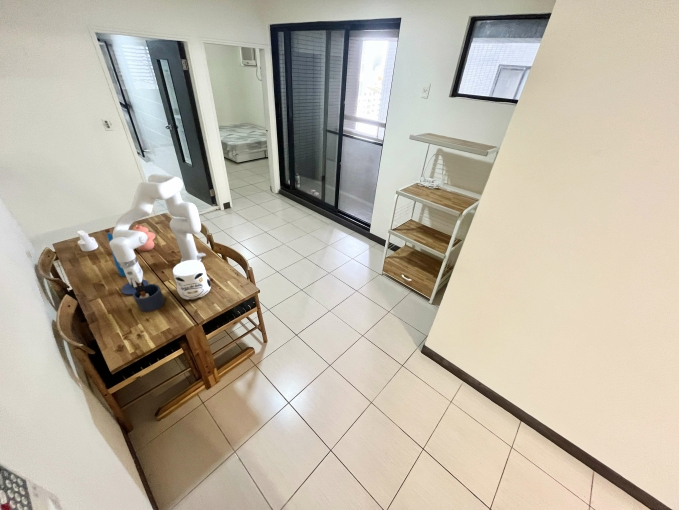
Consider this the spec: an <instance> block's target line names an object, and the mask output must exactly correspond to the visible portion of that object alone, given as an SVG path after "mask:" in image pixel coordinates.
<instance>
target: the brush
mask: <svg viewBox="0 0 679 510" xmlns="http://www.w3.org/2000/svg"><path fill="white" fill-rule="evenodd" d="M136 284H139V283H136ZM140 294H141V296H140V297H139V298H147V297H150V296H149V294H147V293H146V294H145V291H143V292H140Z"/></svg>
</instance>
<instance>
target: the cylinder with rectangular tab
mask: <svg viewBox="0 0 679 510" xmlns="http://www.w3.org/2000/svg"><path fill="white" fill-rule="evenodd" d="M76 233H77V236H78V238H79V240H77V244H78V246H79V248H80V249H81V251H82V252H91V251H94V250H96V249H98V248H99V244H98V242H97V240H96V239H95V237H94V236H90V235H89V233H87V232H86V231H84V230H82V229H81V230H78V231H76Z"/></svg>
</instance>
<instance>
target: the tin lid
mask: <svg viewBox="0 0 679 510" xmlns="http://www.w3.org/2000/svg"><path fill="white" fill-rule="evenodd" d="M142 282H143V284H144V285H148V284H149V281H147V280H146V279H143V278H142ZM135 290H136V289H135V288H134V286H133V283H132V285H131V284H130V283H129V282H127V283H125V284H124V285H123V286H122V288H121V293H122V294H124V295H127V296H133V293H134V292H135Z"/></svg>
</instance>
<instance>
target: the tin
mask: <svg viewBox="0 0 679 510" xmlns="http://www.w3.org/2000/svg"><path fill="white" fill-rule="evenodd" d="M144 286H145V288H144V291H145V294H146V293H147V294H149V296H150V297H147V298H139V297H140V296H141V294H140V292H137V291H136V290H135V292H134V293H133V295H132V297H133V299H134V301H135V303H136V305H137V307H138V309H139V310H140V311H141V312H144V313H148V312H153V311H156V310H158V309H160V308H161V307H162V306H163V305H164V304H165V301H166V300H165V297H164V293H163V292H162V289H161V287H160V285H158V284H155V283H148V285H144Z"/></svg>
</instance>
